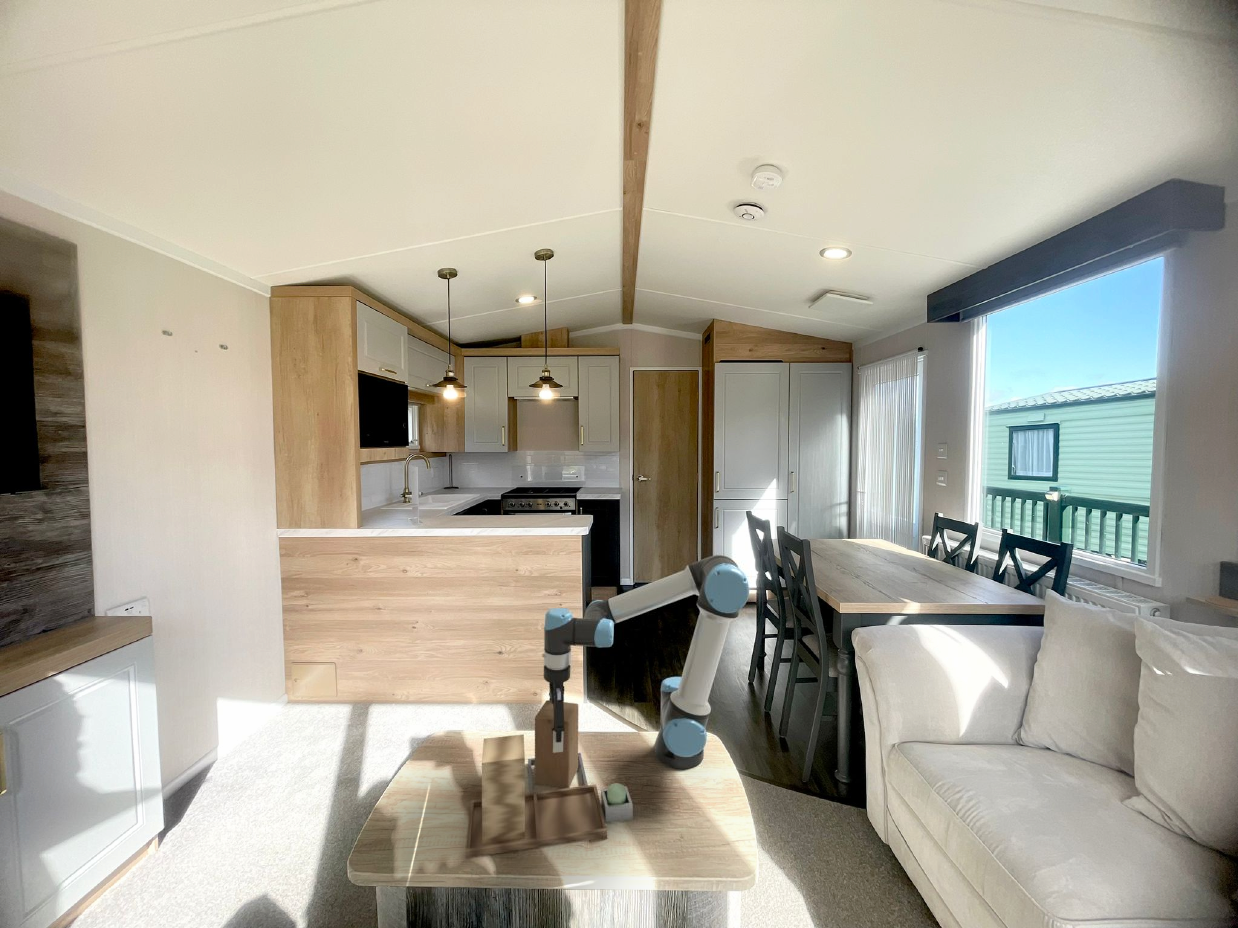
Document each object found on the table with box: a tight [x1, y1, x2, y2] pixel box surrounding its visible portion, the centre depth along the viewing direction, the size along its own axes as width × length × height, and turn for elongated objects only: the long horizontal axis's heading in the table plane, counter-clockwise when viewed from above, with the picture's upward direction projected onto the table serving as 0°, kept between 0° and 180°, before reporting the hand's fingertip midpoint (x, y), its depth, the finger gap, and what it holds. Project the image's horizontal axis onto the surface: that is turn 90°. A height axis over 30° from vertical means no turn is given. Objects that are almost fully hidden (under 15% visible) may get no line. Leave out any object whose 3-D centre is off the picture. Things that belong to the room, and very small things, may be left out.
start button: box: [606, 782, 626, 806], centre depth 136 cm, size 5×5×4 cm
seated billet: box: [481, 734, 526, 844], centre depth 130 cm, size 10×10×20 cm
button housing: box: [600, 786, 634, 824], centre depth 136 cm, size 7×7×4 cm
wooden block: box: [534, 699, 579, 789], centre depth 149 cm, size 10×10×20 cm
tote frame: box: [527, 752, 589, 793], centre depth 149 cm, size 16×16×2 cm
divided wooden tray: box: [465, 783, 608, 859], centre depth 132 cm, size 33×17×2 cm, turn 102°
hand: (555, 737), depth 149 cm, fingers open, 13 cm apart
